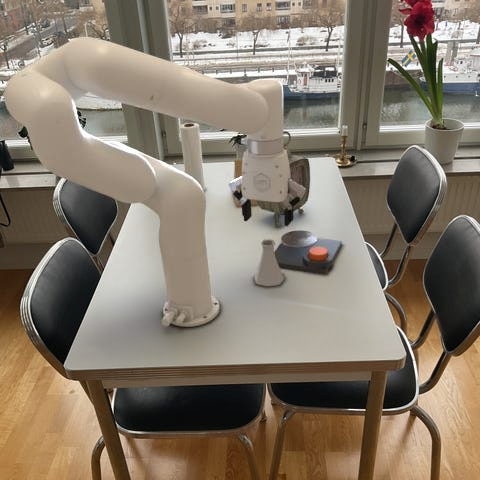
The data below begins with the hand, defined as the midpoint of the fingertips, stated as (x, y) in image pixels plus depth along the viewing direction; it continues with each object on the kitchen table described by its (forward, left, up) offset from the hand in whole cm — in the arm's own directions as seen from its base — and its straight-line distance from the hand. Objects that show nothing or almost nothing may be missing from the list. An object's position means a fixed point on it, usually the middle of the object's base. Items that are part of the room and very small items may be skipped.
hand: (267, 221), depth 120 cm
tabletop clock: (+34, +8, -15) cm, 38 cm away
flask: (0, 0, -15) cm, 15 cm away
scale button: (+9, -9, -13) cm, 18 cm away
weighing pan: (+16, -3, -12) cm, 21 cm away
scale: (+14, -5, -15) cm, 21 cm away
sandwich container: (+47, +24, -15) cm, 55 cm away
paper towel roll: (+47, +43, -15) cm, 66 cm away
